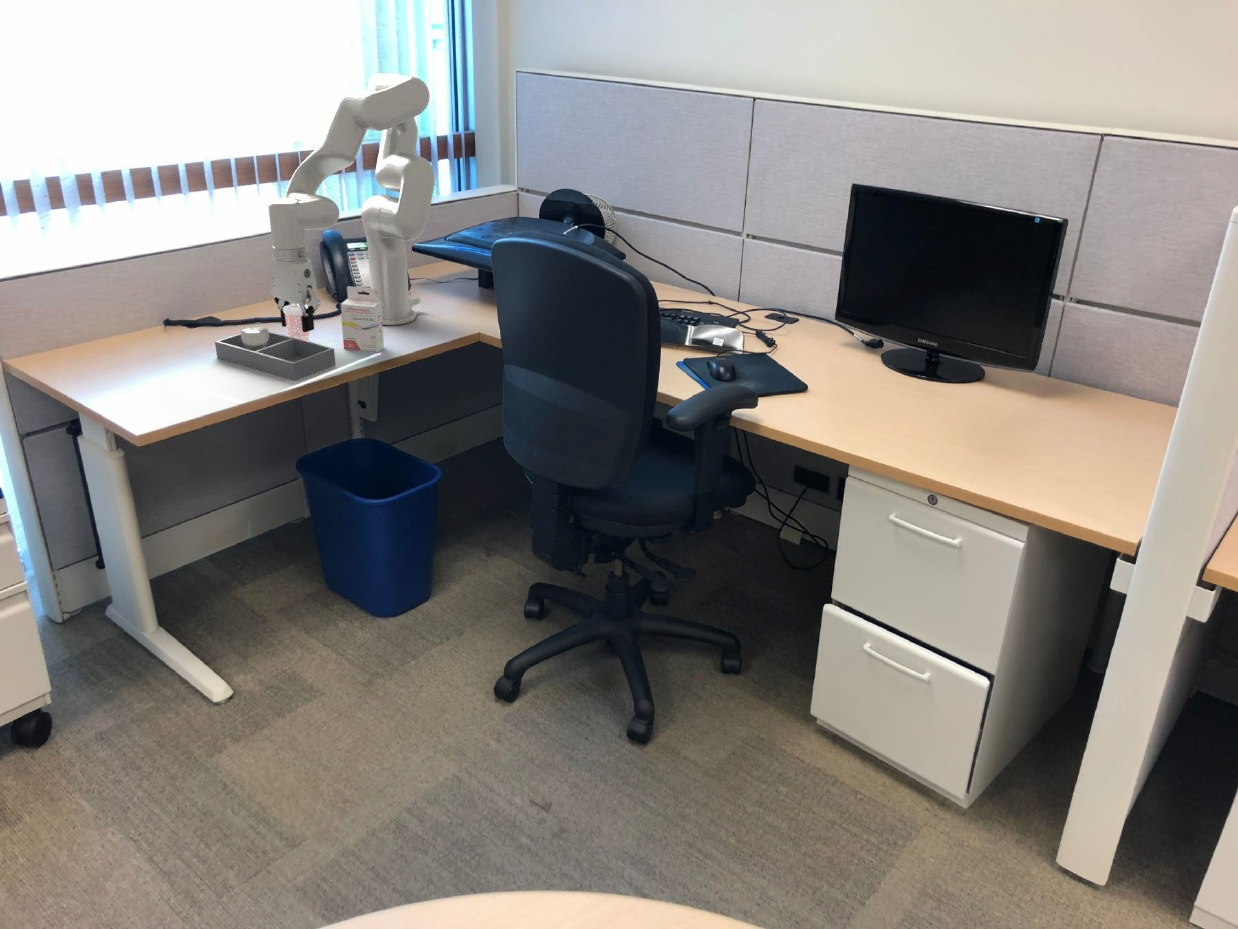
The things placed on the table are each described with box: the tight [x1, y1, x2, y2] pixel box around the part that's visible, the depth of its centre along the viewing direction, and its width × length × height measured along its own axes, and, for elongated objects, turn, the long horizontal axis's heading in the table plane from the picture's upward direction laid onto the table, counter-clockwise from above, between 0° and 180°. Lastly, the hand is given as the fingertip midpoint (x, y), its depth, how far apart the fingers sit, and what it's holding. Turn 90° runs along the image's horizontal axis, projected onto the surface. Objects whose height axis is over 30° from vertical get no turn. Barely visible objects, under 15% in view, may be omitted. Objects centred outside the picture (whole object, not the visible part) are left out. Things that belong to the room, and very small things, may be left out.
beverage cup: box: [283, 303, 311, 342], centre depth 238 cm, size 6×6×14 cm
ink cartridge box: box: [340, 285, 385, 354], centre depth 236 cm, size 9×5×15 cm, turn 84°
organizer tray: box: [214, 330, 336, 381], centre depth 227 cm, size 12×25×4 cm, turn 60°
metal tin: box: [240, 326, 270, 351], centre depth 229 cm, size 6×6×6 cm
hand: (298, 327), depth 239 cm, fingers closed on beverage cup, 6 cm apart
